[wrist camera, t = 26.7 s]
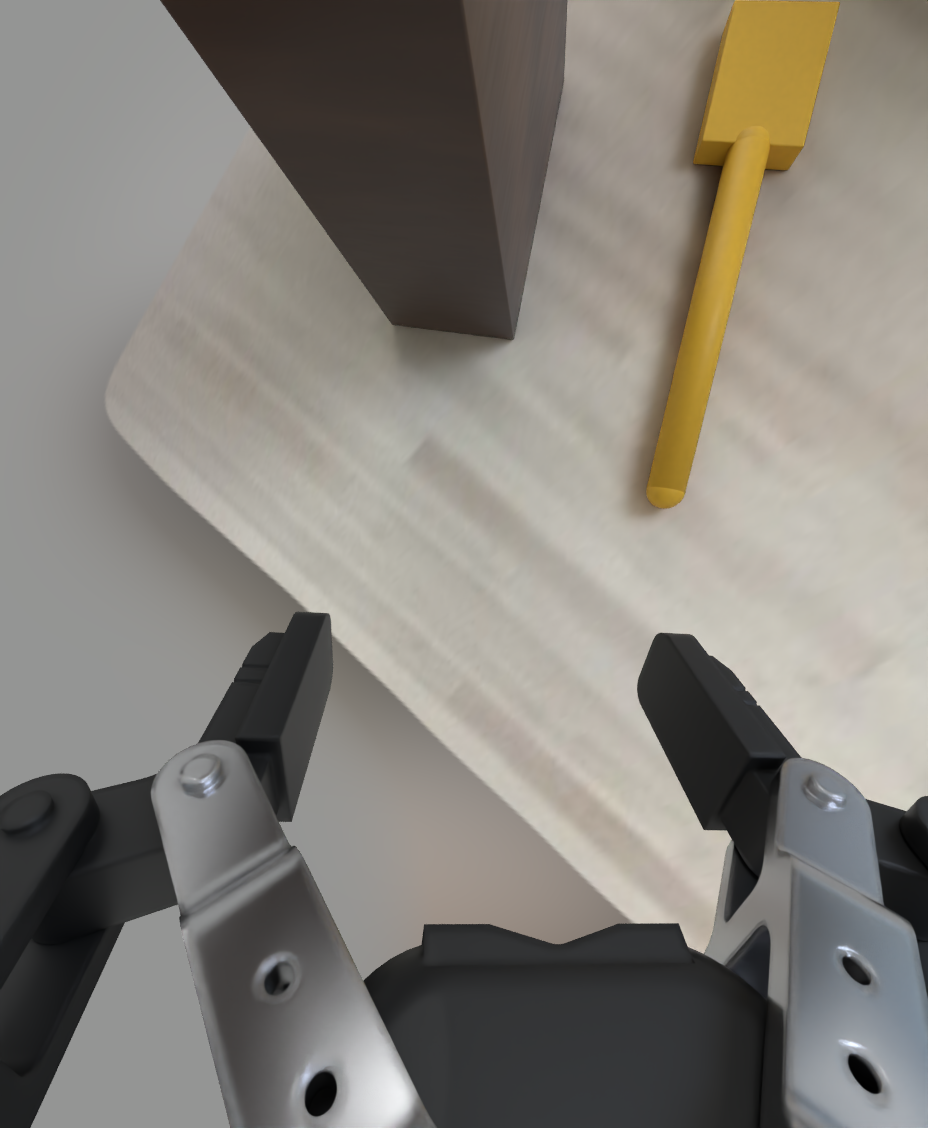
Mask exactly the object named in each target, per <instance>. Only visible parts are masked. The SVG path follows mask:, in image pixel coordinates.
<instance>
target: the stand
mask: <svg viewBox="0 0 928 1128" xmlns="http://www.w3.org/2000/svg"><path fill="white" fill-rule="evenodd" d="M160 1H161V2H162V4H163V5H164V6H165V7H166V9H167V10H168V12H169V13H170V15H171V16H172V18H173V19H174V20H175V22H176V23H177V25H178V26H179V27H180V29H181V30H182V31H183V33H184V34H185V35H186V37H187V38H188V40H189V41H190V43H191V44H192V45H193V47H194V48H195V50H196V51H197V52H198V54H199V55H200V57H201V58H202V59H203V61H204V62H205V64H206V65H207V66H208V68H209V69H210V71H211V72H212V73H213V75H214V76H215V78H216V79H217V80H218V82H219V83H220V85H221V86H222V87H223V89H224V90H225V91H226V93H227V94H228V96H229V97H230V99H231V100H232V101H233V103H234V104H235V106H236V107H237V108H238V110H239V111H240V112H241V114H242V115H243V117H244V118H245V120H246V121H247V122H248V124H249V125H250V126H251V128H252V129H253V131H254V132H255V133H256V135H257V136H258V138H259V139H260V140H261V142H262V143H263V145H264V146H265V147H266V149H267V150H268V152H269V153H270V154H271V156H272V157H273V159H274V160H275V161H276V163H277V164H278V166H279V167H280V168H281V170H282V171H283V173H284V174H285V175H286V177H287V178H288V180H289V181H290V182H291V184H292V185H293V187H294V188H295V189H296V191H297V192H298V194H299V195H300V196H301V198H302V199H303V201H304V202H305V203H306V205H307V206H308V208H309V209H310V210H311V212H312V213H313V215H314V216H315V217H316V219H317V220H318V221H319V223H320V224H321V226H322V227H323V228H324V230H325V231H326V233H327V234H328V235H329V237H330V238H331V240H332V241H333V242H334V244H335V245H336V247H337V248H338V249H339V251H340V252H341V254H342V255H343V256H344V258H345V259H346V261H347V262H348V263H349V265H350V266H351V268H352V269H353V270H354V272H355V273H356V275H357V276H358V277H359V279H360V280H361V282H362V283H363V284H364V286H365V287H366V289H367V290H368V291H369V293H370V294H371V296H372V297H373V298H374V300H375V301H376V303H377V304H378V305H379V307H380V308H381V310H382V311H383V312H384V314H385V315H386V316H387V318H388V319H389V321H390V322H391V323H392V324H393V325H399V326H407V327H415V328H423V329H431V330H439V331H448V332H456V333H464V334H472V335H480V336H488V337H496V338H504V339H512V340H513V339H514V336H515V331H516V326H517V321H518V315H519V310H520V305H521V300H522V295H523V290H524V284H525V279H526V274H527V269H528V264H529V259H530V253H531V248H532V243H533V238H534V233H535V228H536V223H537V217H538V212H539V207H540V202H541V197H542V192H543V186H544V181H545V176H546V171H547V166H548V161H549V155H550V150H551V145H552V140H553V135H554V130H555V124H556V119H557V114H558V109H559V104H560V99H561V93H562V88H563V83H564V66H565V44H566V21H567V0H160Z"/></svg>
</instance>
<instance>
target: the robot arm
mask: <svg viewBox="0 0 928 1128" xmlns="http://www.w3.org/2000/svg"><path fill="white" fill-rule="evenodd" d="M332 674H333V654H332V635H331V619H330V615H329V613H312V612H295V614H294V615H293V617H292V619H291V621H290V623H289V626H288V628H287V630H286V632H285V633H275V632H269V633H268V634H267V635H266V636H265V637H263V638H262V639H261V640H260V641H258V642H257V643H256V644H255V645H254V646H252V648H251V649H250V651H249V653H248V655H247V657H246V659H245V660H244V662H243V664H242V668H240V669H239V671H238V673H237V675H236V676H235V678H234V683H233V682H232V683H231V685H230V687H229V689H228V691H227V692H226V694H225V696H224V698H223V700H222V701H221V703H220V705H219V707H218V709H217V710H216V712H215V714H214V716H213V718H212V719H211V721H210V723H209V725H208V726H207V728H206V730H205V732H204V734H203V735H202V737H201V739H200V740H199V742H198V743H197V744H196V745H193V746H190V747H188V748H186V749H184V750H183V751H181V752H179V753H178V754H176V755H175V756H174V757H173V758H171V759H170V760H169V761H168V762H167V763H166V764H165V765H164V766H163V767H162V768H161V769H160V771H159V772H158V774H155V775H153V776H150V777H147V778H143V779H140V780H136V781H131V782H127V783H123V784H119V785H115V786H111V787H107V788H102V789H98V790H94V791H90V788H89V787H88V785H87V783H86V782H85V781H84V780H83V779H82V778H80V777H78V776H76V775H72V774H51V775H46V776H42V777H39V778H35V779H32V780H30V781H28V782H25V783H22V784H20V785H18V786H16V787H14V788H12V789H10V790H9V791H7V792H6V793H4V794H2V795H1V796H0V1128H30V1127H31V1125H32V1123H33V1121H34V1119H35V1116H36V1114H37V1112H38V1110H39V1108H40V1105H41V1103H42V1101H43V1099H44V1097H45V1095H46V1092H47V1090H48V1088H49V1086H50V1084H51V1082H52V1079H53V1077H54V1075H55V1073H56V1071H57V1068H58V1066H59V1064H60V1062H61V1060H62V1058H63V1056H64V1053H65V1051H66V1049H67V1047H68V1045H69V1042H70V1040H71V1038H72V1036H73V1034H74V1031H75V1029H76V1027H77V1025H78V1023H79V1021H80V1018H81V1016H82V1014H83V1012H84V1010H85V1008H86V1006H87V1003H88V1001H89V999H90V997H91V994H92V992H93V990H94V988H95V986H96V984H97V982H98V979H99V977H100V975H101V973H102V971H103V969H104V966H105V964H106V962H107V960H108V958H109V955H110V953H111V951H112V949H113V947H114V945H115V943H116V940H117V938H118V936H119V934H120V932H121V929H122V927H123V925H124V923H125V922H127V921H130V920H133V919H136V918H139V917H142V916H145V915H148V914H151V913H154V912H156V911H160V910H163V909H166V908H168V907H171V906H174V905H177V904H178V905H179V909H180V915H181V916H180V926H181V931H182V935H183V940H184V944H185V948H186V952H187V956H188V960H189V964H190V968H191V972H192V976H193V980H194V984H195V988H196V992H197V996H198V1000H199V1004H200V1008H201V1012H202V1016H203V1020H204V1024H205V1028H206V1032H207V1036H208V1040H209V1044H210V1048H211V1052H212V1056H213V1060H214V1064H215V1068H216V1072H217V1076H218V1080H219V1084H220V1088H221V1092H222V1096H223V1100H224V1104H225V1108H226V1112H227V1116H228V1120H229V1124H230V1128H928V796H925V797H921V798H920V799H918V800H917V801H916V802H915V803H914V804H913V805H912V806H911V807H910V809H909V810H908V811H904V810H900V809H897V808H894V807H890V806H887V805H884V804H880V803H877V802H874V801H870V800H867V799H865V798H864V797H863V795H862V794H861V793H860V792H859V790H858V789H857V788H856V787H855V786H854V785H853V784H852V783H851V782H849V781H848V780H847V779H846V778H845V777H843V776H842V775H840V774H839V773H837V772H836V771H834V770H833V769H831V768H829V767H827V766H825V765H823V764H821V763H818V762H816V761H813V760H809V759H804V758H801V757H800V755H799V754H798V753H797V752H796V750H795V749H794V748H793V747H792V745H791V744H790V743H789V742H788V740H787V739H786V738H785V737H784V735H783V734H782V733H781V732H780V730H779V729H778V728H777V727H776V725H775V724H774V723H773V722H772V720H771V719H770V718H769V717H768V715H767V714H766V713H765V712H764V710H763V709H762V708H761V707H760V706H757V704H756V703H757V702H756V700H755V699H754V698H753V697H752V695H751V694H750V693H749V692H748V691H745V687H744V686H743V684H742V683H741V682H740V681H739V679H738V678H737V677H736V676H735V674H734V673H733V672H732V671H731V670H730V669H729V668H727V667H726V666H725V665H723V664H722V663H721V662H719V661H718V660H717V659H716V658H714V657H713V656H709V655H708V654H707V652H706V651H705V650H704V649H703V647H702V646H701V645H700V643H699V642H698V641H697V639H696V638H695V637H694V636H692V635H690V634H674V633H659V634H657V635H656V636H655V638H654V640H653V642H652V645H651V647H650V650H649V652H648V655H647V658H646V660H645V663H644V665H643V668H642V671H641V673H640V676H639V679H638V684H637V692H638V698H639V702H640V704H641V706H642V708H643V710H644V712H645V714H646V716H647V718H648V720H649V722H650V724H651V726H652V728H653V730H654V732H655V734H656V736H657V738H658V740H659V742H660V744H661V746H662V748H663V750H664V752H665V754H666V756H667V758H668V760H669V762H670V764H671V766H672V768H673V770H674V772H675V774H676V776H677V778H678V780H679V782H680V784H681V786H682V788H683V790H684V792H685V793H686V795H687V797H688V799H689V801H690V803H691V805H692V807H693V809H694V811H695V813H696V815H697V817H698V819H699V821H700V823H701V825H702V827H703V829H704V830H727V831H728V833H729V835H730V837H731V838H732V840H731V842H730V843H729V845H728V846H727V849H726V854H725V860H724V866H723V873H722V879H721V885H720V891H719V897H718V903H717V909H716V915H715V922H714V927H713V932H712V935H711V938H710V941H709V944H708V946H707V948H706V950H705V952H704V954H702V953H700V952H698V951H696V950H694V949H691V948H689V947H687V944H686V942H685V939H684V936H683V934H682V931H681V929H680V926H679V923H677V924H616V925H614V926H611V927H608V928H605V929H603V930H600V931H598V932H595V933H592V934H589V935H587V936H584V937H581V938H578V939H575V940H573V941H570V942H567V943H564V944H552V943H548V942H545V941H542V940H538V939H535V938H532V937H528V936H525V935H522V934H519V933H516V932H512V931H509V930H506V929H503V928H499V927H496V926H493V925H490V924H454V925H453V924H439V925H437V924H428V925H424V930H423V938H422V945H420V946H418V947H415V948H412V949H409V950H407V951H405V952H403V953H401V954H399V955H397V956H395V957H393V958H392V959H390V960H388V961H387V962H386V963H384V964H383V965H381V966H380V967H379V968H377V969H376V970H375V971H374V972H372V973H371V974H370V975H369V976H368V977H367V978H366V979H365V980H364V981H363V980H362V977H361V975H360V973H359V971H358V969H357V967H356V965H355V963H354V961H353V959H352V957H351V955H350V953H349V951H348V949H347V947H346V944H345V942H344V940H343V938H342V937H341V934H340V932H339V930H338V928H337V926H336V924H335V922H334V920H333V918H332V916H331V913H330V911H329V909H328V907H327V905H326V903H325V901H324V899H323V897H322V895H321V893H320V891H319V889H318V887H317V885H316V882H315V881H314V878H313V876H312V875H311V872H310V870H309V868H308V866H307V864H306V862H305V860H304V858H303V857H302V855H301V853H300V851H299V850H298V849H297V847H296V846H292V847H291V845H290V844H289V842H288V840H287V839H286V836H285V834H284V832H283V830H282V828H281V826H280V824H279V822H280V821H281V822H282V821H283V822H292V818H293V814H294V811H295V808H296V804H297V801H298V797H299V794H300V790H301V787H302V784H303V780H304V777H305V773H306V770H307V767H308V763H309V760H310V756H311V753H312V749H313V746H314V743H315V739H316V736H317V732H318V729H319V725H320V722H321V718H322V715H323V712H324V708H325V705H326V701H327V698H328V694H329V691H330V687H331V682H332Z"/></svg>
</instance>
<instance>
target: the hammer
mask: <svg viewBox="0 0 928 1128" xmlns="http://www.w3.org/2000/svg"><path fill="white" fill-rule="evenodd" d="M839 5H840V2H812V1H746V0H736V1H735V2H734V4H733V6H732V9H731V12H730V15H729V18H728V20H727V23H726V26H725V29H724V32H723V35H722V39H721V44H720V48H719V52H718V57H717V61H716V65H715V70H714V74H713V78H712V83H711V87H710V91H709V95H708V100H707V104H706V108H705V113H704V117H703V121H702V126H701V130H700V134H699V139H698V143H697V147H696V152H695V156H694V160H693V164H702V165H717V166H723V170H722V174H721V178H720V182H719V186H718V191H717V195H716V199H715V203H714V207H713V212H712V216H711V220H710V224H709V228H708V233H707V237H706V241H705V245H704V249H703V254H702V258H701V262H700V266H699V270H698V275H697V279H696V283H695V287H694V291H693V296H692V300H691V304H690V308H689V312H688V317H687V321H686V325H685V329H684V333H683V338H682V342H681V346H680V350H679V354H678V359H677V363H676V367H675V371H674V375H673V379H672V384H671V388H670V392H669V396H668V400H667V405H666V409H665V413H664V417H663V421H662V426H661V430H660V434H659V438H658V442H657V447H656V451H655V455H654V459H653V463H652V468H651V472H650V476H649V480H648V484H647V489H646V494H647V498H648V500H649V501H650V502H651V504H653V505H654V506H656V507H658V508H663V509H665V508H671V507H674V506H676V505H677V504H678V503H680V501H681V500H682V499H683V497H684V495H685V491H686V487H687V483H688V479H689V475H690V471H691V467H692V463H693V459H694V455H695V451H696V447H697V443H698V438H699V434H700V430H701V426H702V422H703V418H704V414H705V410H706V406H707V402H708V398H709V394H710V390H711V386H712V382H713V378H714V374H715V370H716V365H717V361H718V357H719V353H720V349H721V345H722V341H723V337H724V333H725V329H726V325H727V321H728V317H729V313H730V309H731V305H732V301H733V297H734V292H735V288H736V284H737V280H738V276H739V272H740V268H741V264H742V260H743V256H744V252H745V248H746V244H747V240H748V236H749V232H750V228H751V224H752V219H753V215H754V211H755V207H756V203H757V199H758V195H759V191H760V187H761V183H762V179H763V175H764V171H765V169H774V170H788V169H789V168H790V166H791V165H792V163H793V162H794V160H795V159H796V157H797V156H798V154H799V153H800V151H801V150H802V148H803V147H804V144H805V140H806V136H807V132H808V128H809V124H810V120H811V116H812V112H813V108H814V104H815V100H816V96H817V92H818V88H819V84H820V80H821V76H822V72H823V68H824V65H825V61H826V57H827V53H828V49H829V45H830V41H831V37H832V33H833V29H834V25H835V21H836V17H837V13H838V9H839Z"/></svg>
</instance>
